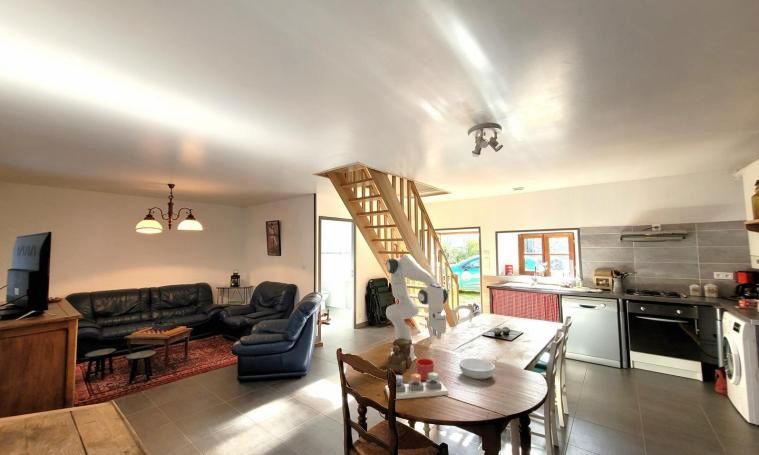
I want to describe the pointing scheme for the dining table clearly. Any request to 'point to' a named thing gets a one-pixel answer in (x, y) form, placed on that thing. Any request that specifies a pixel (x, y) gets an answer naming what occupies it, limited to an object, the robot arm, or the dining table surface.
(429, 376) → the sage button
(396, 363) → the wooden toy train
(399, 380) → the slate button
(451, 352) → the dining table surface
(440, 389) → the console
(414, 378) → the rust button
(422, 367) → the flower pot
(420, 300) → the robot arm
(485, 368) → the serving bowl
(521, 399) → the dining table surface
